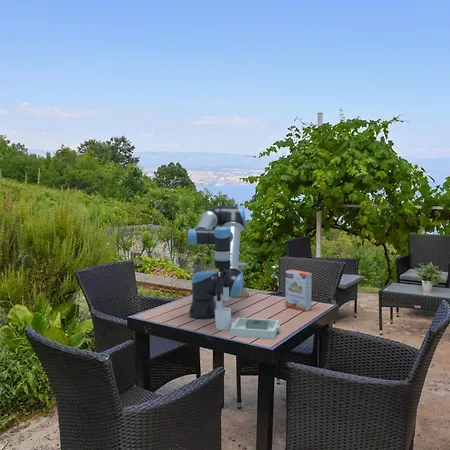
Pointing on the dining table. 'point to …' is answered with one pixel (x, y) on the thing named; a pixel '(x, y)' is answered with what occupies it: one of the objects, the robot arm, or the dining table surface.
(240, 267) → the candle holder
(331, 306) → the dining table surface
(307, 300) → the cracker box
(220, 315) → the white cup
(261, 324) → the block
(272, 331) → the tray
